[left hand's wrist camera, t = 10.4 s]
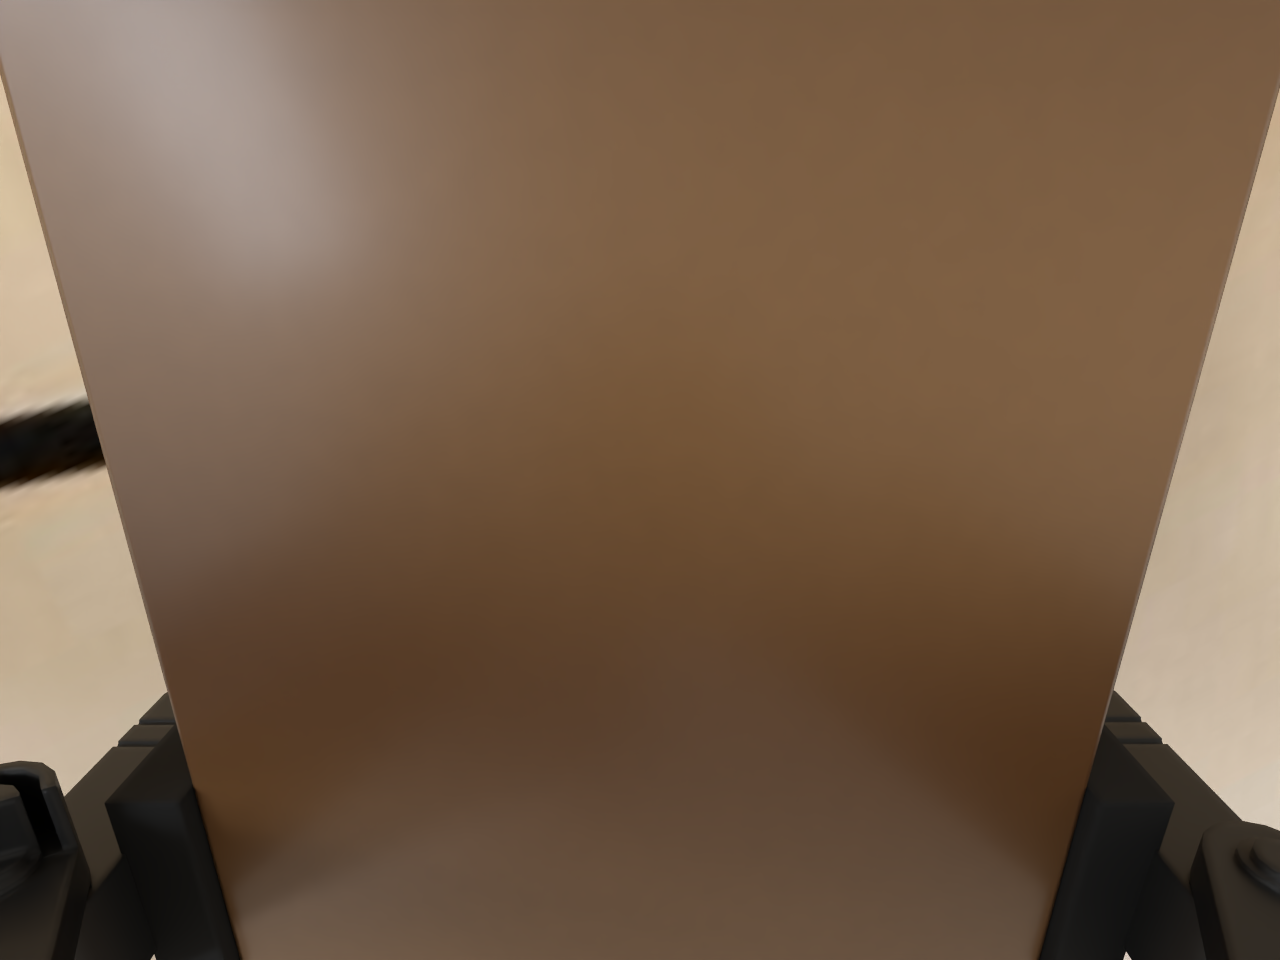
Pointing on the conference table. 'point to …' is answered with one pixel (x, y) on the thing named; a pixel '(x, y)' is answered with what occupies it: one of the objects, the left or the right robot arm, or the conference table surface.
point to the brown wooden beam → (640, 441)
